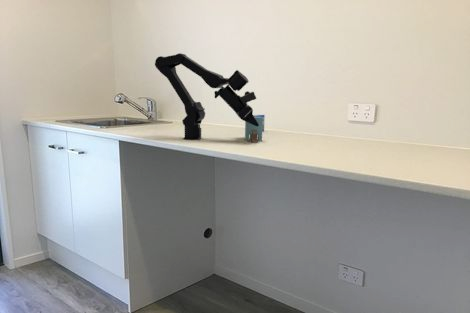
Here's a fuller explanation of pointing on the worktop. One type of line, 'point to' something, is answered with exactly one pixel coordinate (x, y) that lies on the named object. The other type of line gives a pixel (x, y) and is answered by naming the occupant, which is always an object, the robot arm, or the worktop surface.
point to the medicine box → (262, 120)
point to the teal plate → (251, 127)
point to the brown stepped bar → (254, 136)
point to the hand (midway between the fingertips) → (256, 124)
